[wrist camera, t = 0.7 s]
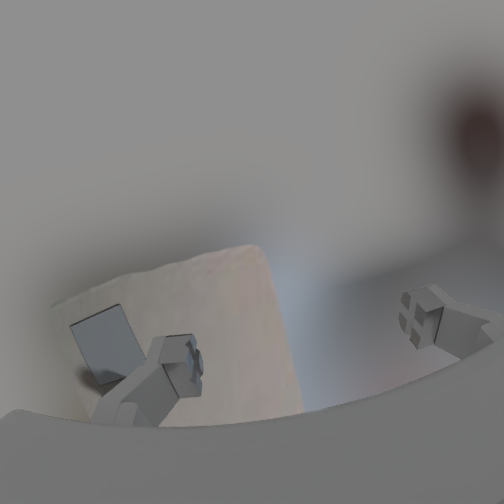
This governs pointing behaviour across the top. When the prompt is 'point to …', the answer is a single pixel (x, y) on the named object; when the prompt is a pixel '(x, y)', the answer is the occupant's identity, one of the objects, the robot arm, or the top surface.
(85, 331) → the dark rubber mat
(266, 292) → the top surface
